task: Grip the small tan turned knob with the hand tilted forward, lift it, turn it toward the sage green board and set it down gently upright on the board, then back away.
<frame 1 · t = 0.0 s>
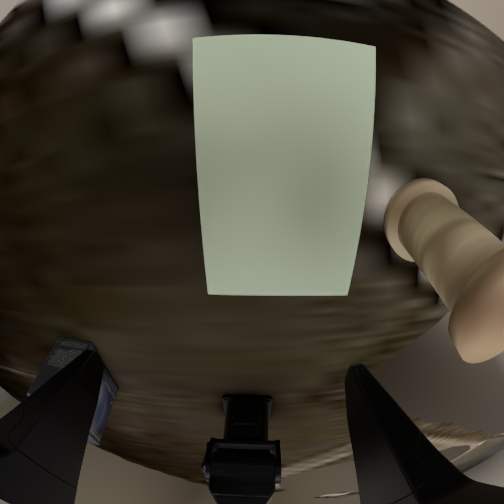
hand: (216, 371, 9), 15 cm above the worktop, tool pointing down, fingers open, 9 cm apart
small box: (90, 363, 34), on the worktop
tan turned knob: (420, 218, 21), on the worktop
board: (283, 173, 20), on the worktop
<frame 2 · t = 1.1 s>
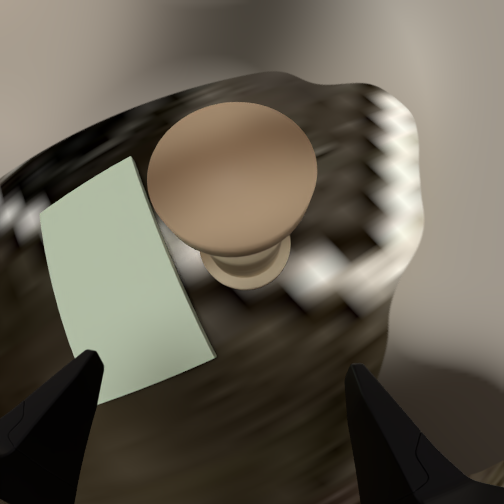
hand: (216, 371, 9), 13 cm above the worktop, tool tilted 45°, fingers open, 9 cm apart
tan turned knob: (245, 246, 24), on the worktop
board: (110, 277, 24), on the worktop
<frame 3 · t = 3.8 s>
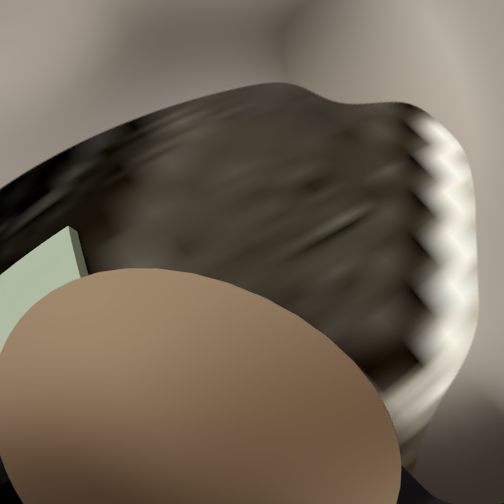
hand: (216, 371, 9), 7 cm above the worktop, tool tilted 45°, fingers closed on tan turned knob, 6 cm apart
tan turned knob: (233, 379, 15), on the worktop, touching gripper
board: (60, 395, 15), on the worktop
when the fingers open (9 cm above the worktop, at t = 7.7 s): tan turned knob drops 1 cm, resting on board.
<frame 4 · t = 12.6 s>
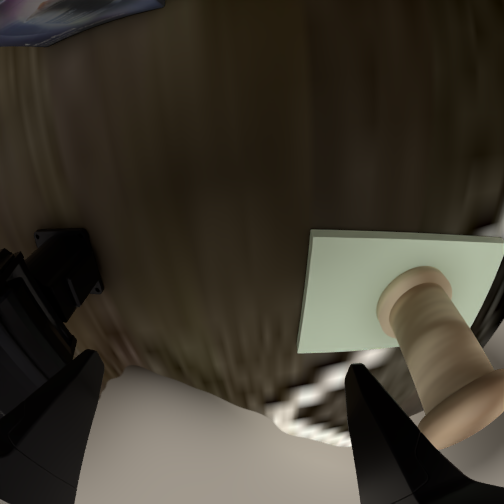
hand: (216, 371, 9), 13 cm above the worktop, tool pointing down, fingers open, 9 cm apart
tan turned knob: (413, 300, 22), point 1 cm above the worktop, touching board
board: (409, 292, 23), on the worktop
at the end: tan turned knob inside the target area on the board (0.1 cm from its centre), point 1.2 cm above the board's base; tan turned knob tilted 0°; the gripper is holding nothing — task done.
